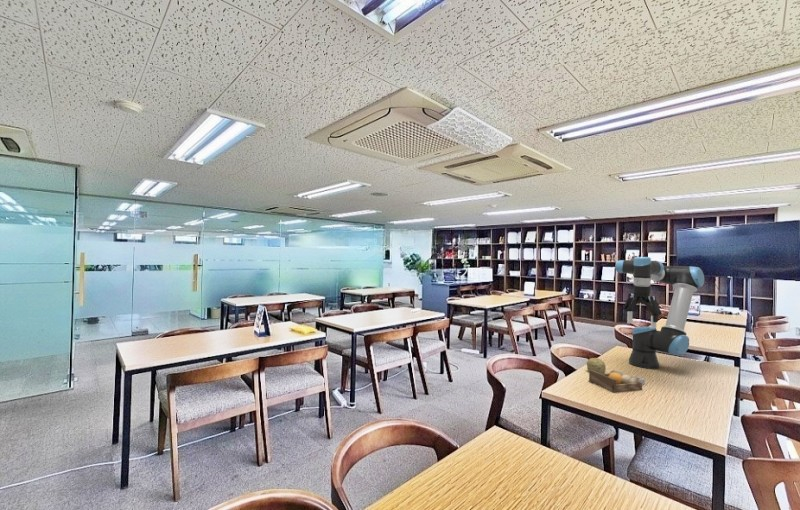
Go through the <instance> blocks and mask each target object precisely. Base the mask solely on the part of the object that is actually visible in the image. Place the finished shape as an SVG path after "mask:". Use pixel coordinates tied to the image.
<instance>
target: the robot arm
mask: <svg viewBox="0 0 800 510" xmlns="http://www.w3.org/2000/svg"><path fill="white" fill-rule="evenodd" d="M614 267H615V271H616V272H617V273H618V274H629V275H633V281H632V283H633V287H632V289H633V291H632V292H633V293H628V297H627V299H626V301H625V302H624V305H623V307H622V310H625V312H626V320H627V321H626V322H627V323H626V324H633V314H634V313H633V311H632V310H633V309H634V308H635V307H636V306H637V305H638V304H642V305H645V307H646V308H647V309H648V311H649V312H650V313H651V315H650V326H634V327H633V329H632V351H631V353H630V356H629V358H628V364H630V365H632V366H635V367H637V368H641V369H642V368H643V369H650V370H652V369H654V370H655V369H659V368H660V363H659V362H660V361H659V359H658V356H657V351H658V352H662V353H666V354H670V355H675V356H682V355H684V354H685V353H686V352H687V351H688V349H689V346H690V338H689V337H688V335H687V332H686V331H685V327H686V323H687V318H688V315H689V311H690V307H691V304H692V303H691V302H692V299H693V296H694V293H695V292H697V291H698V288H702V287H703V286H704V284H705V275H704V272H703V270H702V268H700V267H698V266H691V265H690V266H685V265H683V266H681V265H680V266H679V265H677V266H676V265H664V264H663V263H662V262H661V261H658V260H652V258H651V257H649V256H635V257H634V258H633V259H632V260H627V259H621V260H617V261H616V262H615V266H614ZM651 281H654V282H658V283H661V284H665V285H671V286H672V287H673V289H674V290H673V294H672V295H673V296H672V299H671V301H670V305H669V310H668V314H667V318H666V321H665V325H663V326H661V327H660V328H661V329H660V330H658V329H657V323H658V317H659V316H662V315H663V313H662V311H661V308H660V307H659V304H658V302H657V297H656V295H652V296H651V295H650V294H651V284H652V283H651Z"/></svg>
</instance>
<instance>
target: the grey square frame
mask: <svg viewBox="0 0 800 510" xmlns="http://www.w3.org/2000/svg"><path fill="white" fill-rule="evenodd" d="M633 377H634V378H637V379H639V380H640V382H641V383H642V385H645V378H642V377H639V376H636V377H635V376H633Z"/></svg>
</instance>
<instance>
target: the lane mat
mask: <svg viewBox="0 0 800 510" xmlns="http://www.w3.org/2000/svg"><path fill="white" fill-rule="evenodd" d="M588 382H590V381H589V380H588ZM590 383H592V384H593V385H596V384H595V383H593V382H590ZM621 384H623V383H621ZM597 386H598V387H601V388H602V386H599V385H597ZM603 389H604V390H606V389H605V388H604V387H603ZM607 391H609V392H612V393H613V391H611V390H609V389H608V390H607ZM630 392H635V390H634V391H632V390H631V391H630ZM619 393H624V391H623V392H621V391H620V392H619Z"/></svg>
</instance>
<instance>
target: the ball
mask: <svg viewBox="0 0 800 510" xmlns="http://www.w3.org/2000/svg"><path fill="white" fill-rule="evenodd" d="M609 377H610V378H612V379H615V380H616V385H617V384H621V383H622V377H621V375H620V374H618V373H611V374H610V375H609Z"/></svg>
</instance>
